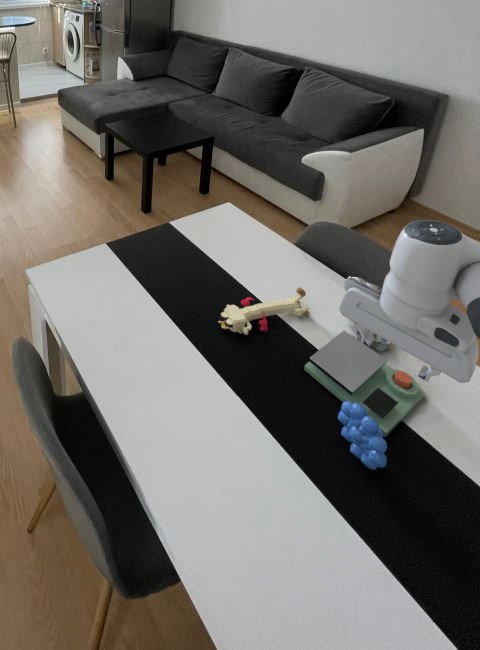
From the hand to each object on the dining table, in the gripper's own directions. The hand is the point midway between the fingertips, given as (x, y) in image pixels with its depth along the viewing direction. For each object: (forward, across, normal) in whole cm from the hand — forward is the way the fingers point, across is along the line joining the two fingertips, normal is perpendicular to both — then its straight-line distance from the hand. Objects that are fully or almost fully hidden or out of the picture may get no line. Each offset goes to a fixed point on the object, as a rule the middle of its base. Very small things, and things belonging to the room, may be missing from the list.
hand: (393, 359), depth 80 cm
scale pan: (+19, -6, +10) cm, 22 cm away
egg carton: (+22, -10, +26) cm, 35 cm away
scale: (+22, -6, +10) cm, 25 cm away
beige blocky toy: (+22, -30, +10) cm, 38 cm away
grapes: (+22, 0, -6) cm, 23 cm away
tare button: (+19, 0, +15) cm, 24 cm away
